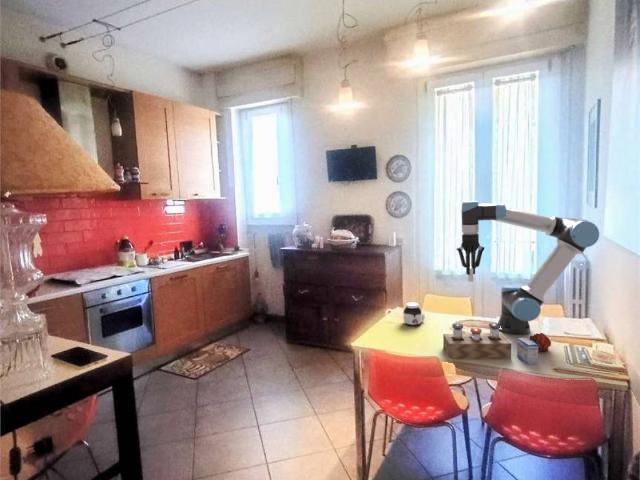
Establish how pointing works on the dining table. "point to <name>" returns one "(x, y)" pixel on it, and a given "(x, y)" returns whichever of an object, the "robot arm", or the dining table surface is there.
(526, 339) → the medicine box
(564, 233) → the robot arm
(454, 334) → the plunger
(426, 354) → the dining table surface
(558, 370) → the dining table surface
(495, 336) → the plunger
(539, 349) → the dragon fruit
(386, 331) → the dining table surface
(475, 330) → the plunger
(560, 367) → the dining table surface
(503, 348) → the block
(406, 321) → the spread jar
